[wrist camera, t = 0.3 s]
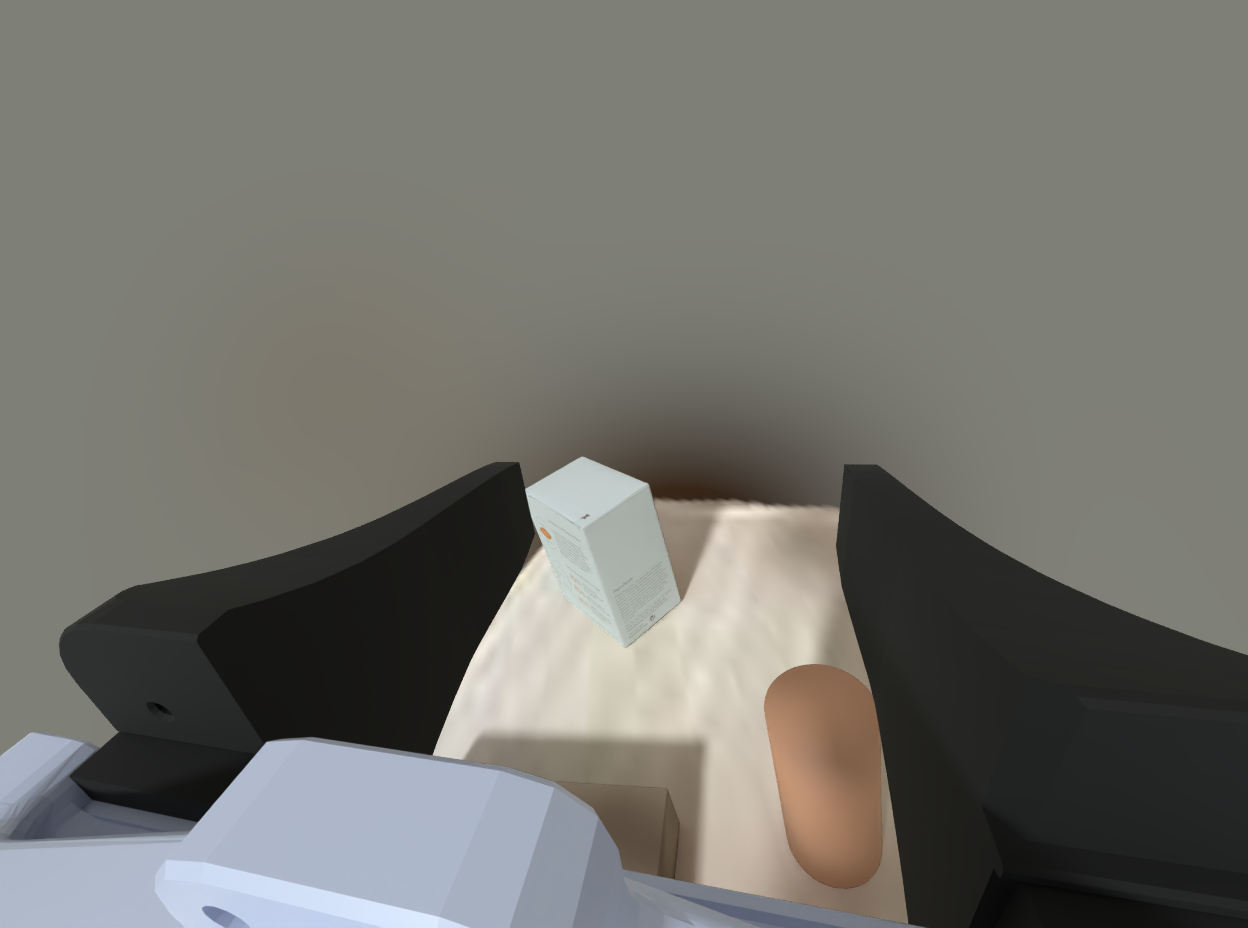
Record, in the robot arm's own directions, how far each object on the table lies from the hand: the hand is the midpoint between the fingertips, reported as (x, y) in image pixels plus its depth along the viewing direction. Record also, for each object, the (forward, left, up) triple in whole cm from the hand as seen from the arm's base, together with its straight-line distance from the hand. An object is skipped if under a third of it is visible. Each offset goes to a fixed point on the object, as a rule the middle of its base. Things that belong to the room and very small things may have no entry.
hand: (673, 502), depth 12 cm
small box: (+18, +10, -21) cm, 30 cm away
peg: (+3, -3, -21) cm, 21 cm away
